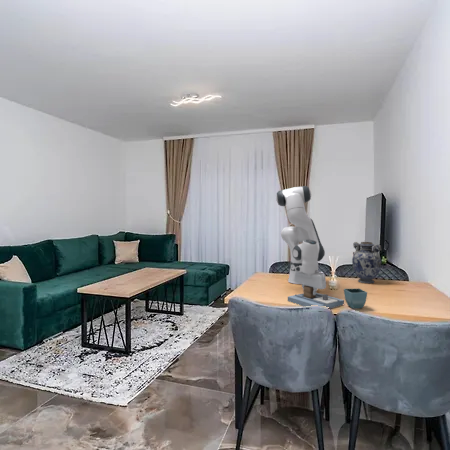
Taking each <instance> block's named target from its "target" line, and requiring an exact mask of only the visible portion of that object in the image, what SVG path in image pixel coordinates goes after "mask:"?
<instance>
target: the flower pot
mask: <svg viewBox="0 0 450 450" xmlns="http://www.w3.org/2000/svg"><path fill="white" fill-rule="evenodd" d="M343 293H344V301H346V304H347V306H348V307H349V306H350V309H363V308H364V307H365V305H366V302H367V297H368V292H367V291H366V290H363V289H361V288H344V289H343Z"/></svg>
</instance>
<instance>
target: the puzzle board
mask: <svg viewBox="0 0 450 450" xmlns="http://www.w3.org/2000/svg"><path fill="white" fill-rule="evenodd" d="M319 297H323V293H320V292H319V293H318V292H316V295H315V298H319ZM315 298H311V299H310V298H306V297H304V292H302V293H298V294H294V295H289V296H287V302H290V303H292V302H293V304H295V303H296V304H295V305H298V304H299V306H301V307H304V306H311V305H318V306H326V307H329V308H330V309H333V308H338V307H341V306H344V305H345V299H341V298H338V297H333V296H329V295H328V298H332V299H335V300H338V301H337V302H333V303H329V304H326V303H323V302H320V301H316V300H313V299H315ZM343 304H344V305H343ZM340 305H341V306H340Z"/></svg>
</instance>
